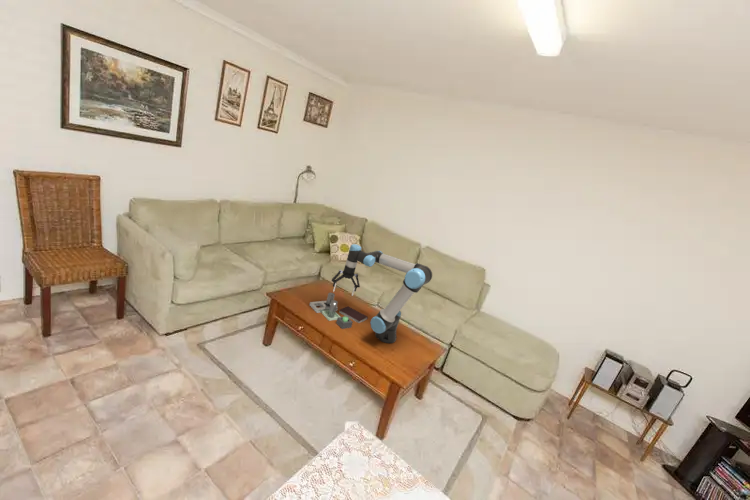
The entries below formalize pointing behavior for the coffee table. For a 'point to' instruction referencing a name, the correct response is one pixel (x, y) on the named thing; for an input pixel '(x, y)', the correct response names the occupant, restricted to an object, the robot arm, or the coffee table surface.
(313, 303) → the pallet
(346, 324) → the console
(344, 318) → the button
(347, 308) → the book
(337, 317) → the green plate
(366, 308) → the coffee table surface
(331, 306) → the billet
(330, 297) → the seated billet
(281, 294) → the coffee table surface
